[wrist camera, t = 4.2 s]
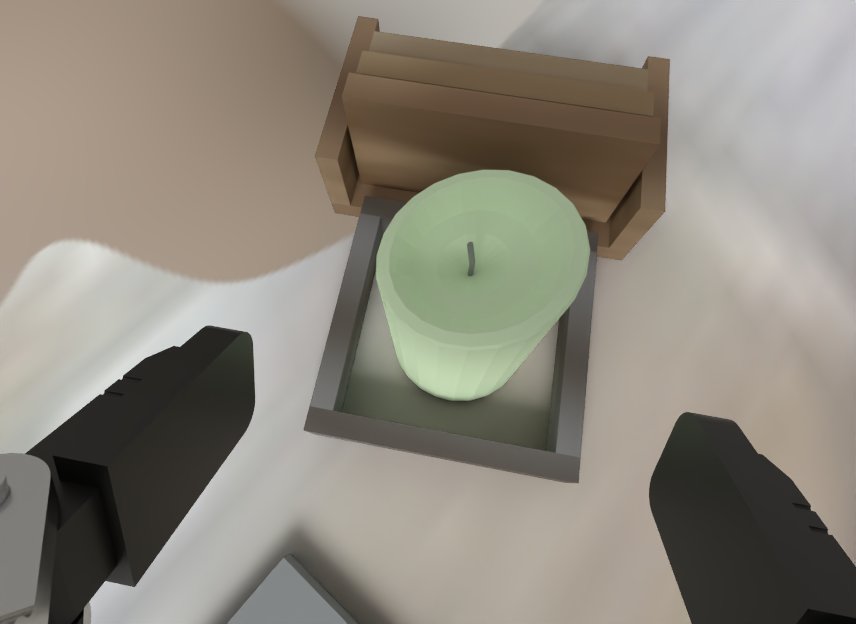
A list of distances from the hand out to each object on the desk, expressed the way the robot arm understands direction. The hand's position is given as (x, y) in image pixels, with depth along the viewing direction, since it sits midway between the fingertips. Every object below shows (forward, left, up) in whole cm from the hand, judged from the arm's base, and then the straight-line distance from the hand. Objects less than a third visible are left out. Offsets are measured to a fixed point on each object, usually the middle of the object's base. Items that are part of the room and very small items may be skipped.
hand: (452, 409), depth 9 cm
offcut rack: (-6, -4, -9) cm, 11 cm away
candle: (-3, -2, -9) cm, 10 cm away
